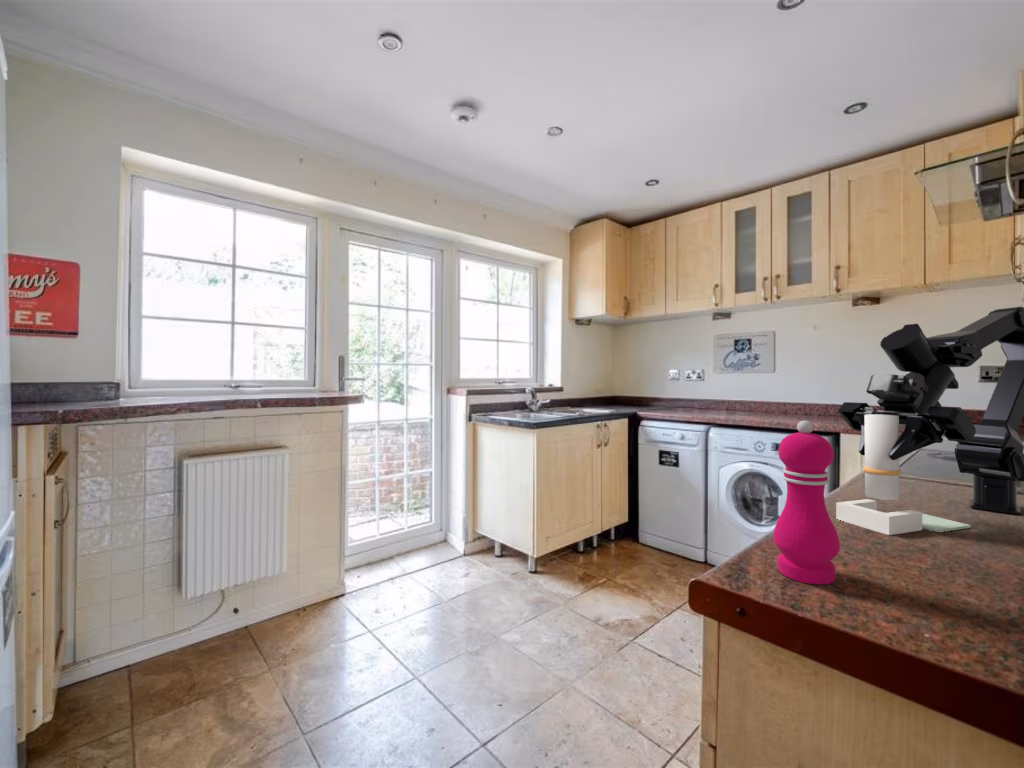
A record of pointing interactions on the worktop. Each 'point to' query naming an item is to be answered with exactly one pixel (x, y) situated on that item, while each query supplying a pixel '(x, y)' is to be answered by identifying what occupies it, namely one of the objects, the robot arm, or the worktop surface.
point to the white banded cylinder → (881, 456)
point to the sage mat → (941, 524)
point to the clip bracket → (878, 517)
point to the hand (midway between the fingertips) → (875, 455)
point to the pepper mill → (806, 510)
